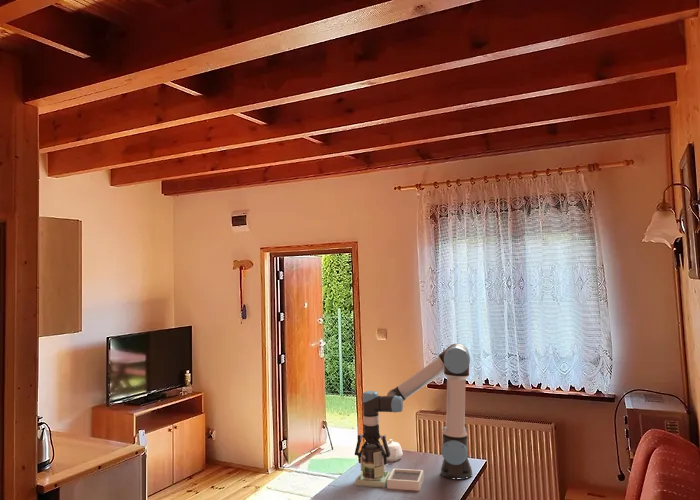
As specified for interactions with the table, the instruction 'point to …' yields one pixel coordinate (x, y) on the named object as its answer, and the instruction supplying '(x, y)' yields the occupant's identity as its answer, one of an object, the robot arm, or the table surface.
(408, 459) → the table surface
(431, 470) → the table surface
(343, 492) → the table surface
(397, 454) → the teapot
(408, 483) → the checker cradle
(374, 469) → the coffee can
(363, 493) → the table surface
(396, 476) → the plate
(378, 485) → the tray
